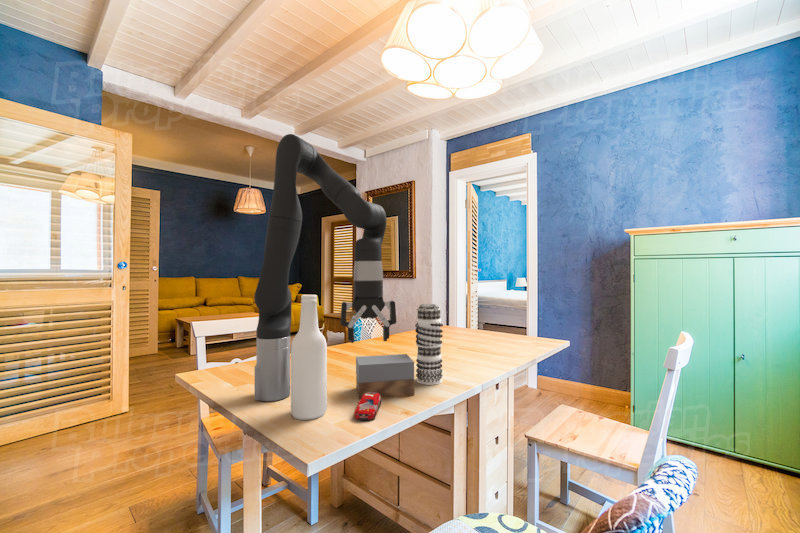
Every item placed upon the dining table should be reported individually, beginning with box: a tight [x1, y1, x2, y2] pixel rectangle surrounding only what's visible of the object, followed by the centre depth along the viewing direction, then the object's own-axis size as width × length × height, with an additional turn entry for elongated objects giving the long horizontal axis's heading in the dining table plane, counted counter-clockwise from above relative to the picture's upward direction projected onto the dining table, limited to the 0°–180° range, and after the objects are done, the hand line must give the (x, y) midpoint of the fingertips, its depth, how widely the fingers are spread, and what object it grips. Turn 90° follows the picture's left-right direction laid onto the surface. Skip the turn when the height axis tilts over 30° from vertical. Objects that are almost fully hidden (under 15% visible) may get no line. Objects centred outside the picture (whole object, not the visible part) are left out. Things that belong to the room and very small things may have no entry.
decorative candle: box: [414, 303, 444, 386], centre depth 116 cm, size 9×9×25 cm
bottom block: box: [355, 373, 415, 401], centre depth 105 cm, size 16×10×5 cm, turn 101°
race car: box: [354, 392, 382, 421], centre depth 91 cm, size 13×5×4 cm, turn 173°
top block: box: [355, 353, 415, 383], centre depth 106 cm, size 16×10×5 cm, turn 102°
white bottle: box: [290, 294, 328, 421], centre depth 89 cm, size 9×9×30 cm
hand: (368, 341), depth 91 cm, fingers open, 8 cm apart
